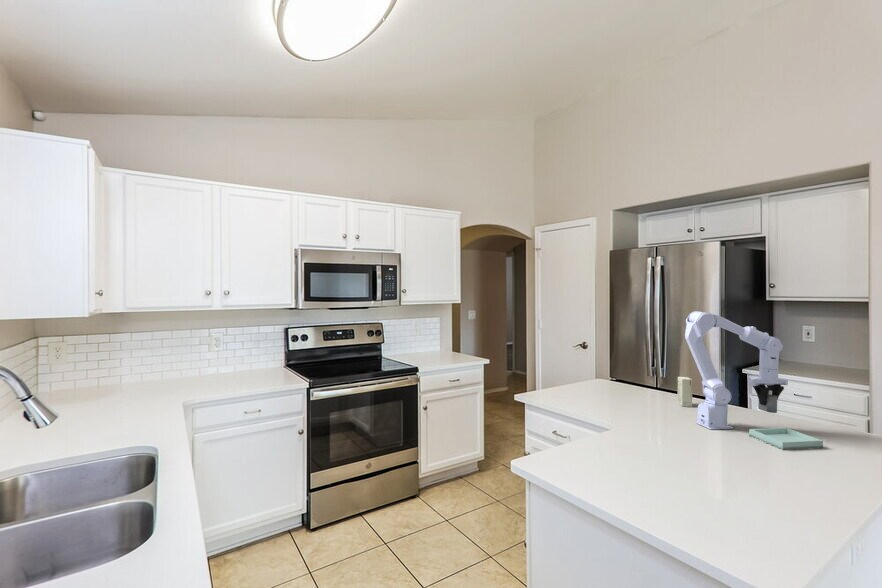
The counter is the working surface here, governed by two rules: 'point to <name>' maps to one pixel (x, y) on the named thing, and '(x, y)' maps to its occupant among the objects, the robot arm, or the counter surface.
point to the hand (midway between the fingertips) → (767, 404)
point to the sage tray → (785, 438)
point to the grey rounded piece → (769, 403)
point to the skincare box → (685, 391)
